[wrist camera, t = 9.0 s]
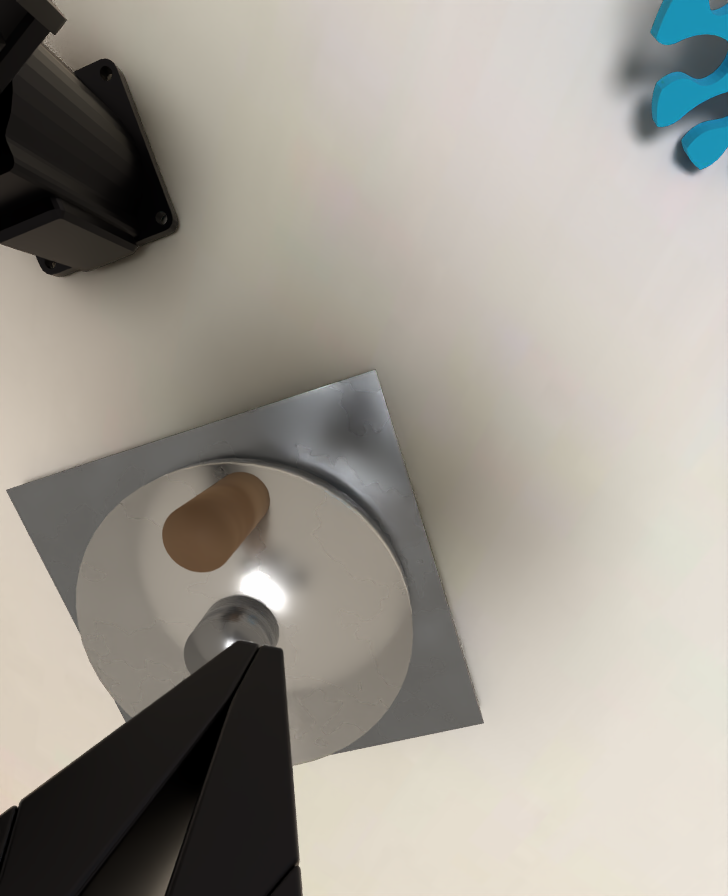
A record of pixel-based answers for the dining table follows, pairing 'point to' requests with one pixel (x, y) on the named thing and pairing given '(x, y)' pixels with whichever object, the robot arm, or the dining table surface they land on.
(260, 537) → the metal crank wheel
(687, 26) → the gear
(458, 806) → the dining table surface
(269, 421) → the base
